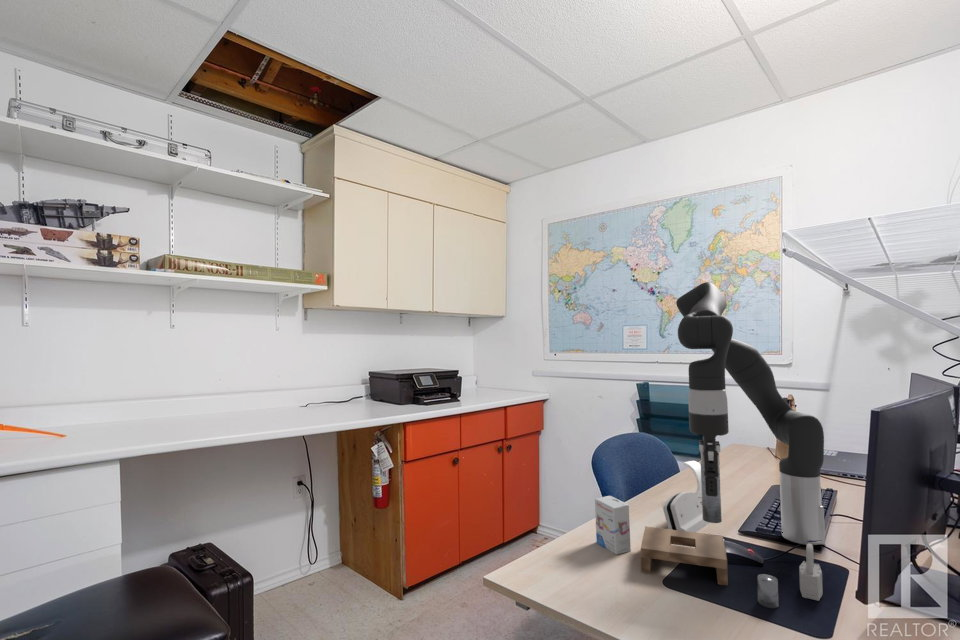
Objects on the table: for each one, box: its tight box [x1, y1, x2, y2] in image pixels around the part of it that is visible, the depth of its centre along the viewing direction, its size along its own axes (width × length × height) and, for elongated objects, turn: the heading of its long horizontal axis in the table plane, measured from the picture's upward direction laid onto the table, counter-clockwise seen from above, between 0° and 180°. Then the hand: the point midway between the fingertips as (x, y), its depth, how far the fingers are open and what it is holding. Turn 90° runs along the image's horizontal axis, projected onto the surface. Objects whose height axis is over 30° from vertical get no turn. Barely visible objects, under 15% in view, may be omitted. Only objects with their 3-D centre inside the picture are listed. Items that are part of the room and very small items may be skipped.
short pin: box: [756, 573, 779, 609], centre depth 102 cm, size 4×4×5 cm
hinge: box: [662, 491, 710, 533], centre depth 143 cm, size 17×5×10 cm, turn 134°
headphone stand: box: [683, 460, 702, 503], centre depth 164 cm, size 5×6×12 cm
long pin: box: [700, 463, 723, 524], centre depth 105 cm, size 4×4×12 cm
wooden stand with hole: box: [640, 526, 729, 586], centre depth 119 cm, size 18×14×6 cm
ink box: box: [594, 495, 632, 555], centre depth 130 cm, size 9×5×12 cm, turn 23°
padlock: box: [798, 543, 824, 602], centre depth 106 cm, size 7×4×10 cm, turn 144°
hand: (711, 492), depth 105 cm, fingers closed on long pin, 3 cm apart
